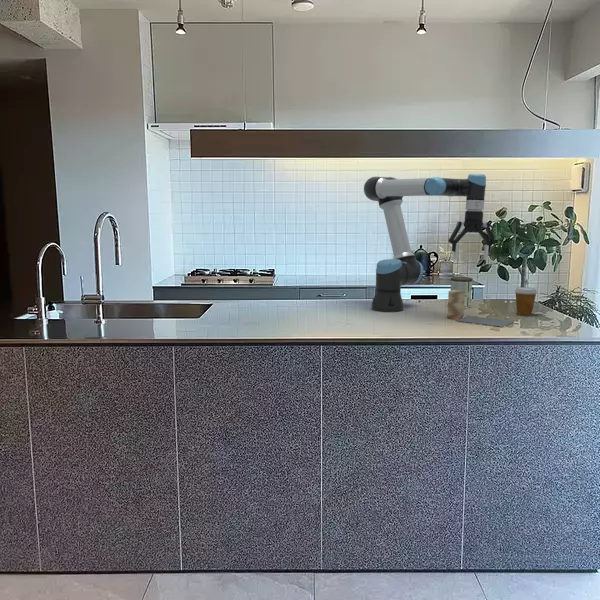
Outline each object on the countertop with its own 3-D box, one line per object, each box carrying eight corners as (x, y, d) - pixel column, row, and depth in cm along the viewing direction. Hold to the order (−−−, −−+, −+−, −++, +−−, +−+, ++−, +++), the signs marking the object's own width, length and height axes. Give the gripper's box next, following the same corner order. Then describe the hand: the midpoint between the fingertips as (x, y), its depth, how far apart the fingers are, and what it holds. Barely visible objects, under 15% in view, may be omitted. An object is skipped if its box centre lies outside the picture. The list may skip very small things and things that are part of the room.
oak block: (447, 318, 245) (448, 291, 243) (452, 316, 250) (453, 289, 248) (458, 319, 242) (459, 292, 240) (463, 317, 247) (464, 290, 245)
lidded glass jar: (447, 304, 282) (449, 276, 280) (468, 305, 281) (470, 277, 279) (451, 308, 272) (452, 279, 270) (473, 308, 271) (474, 279, 269)
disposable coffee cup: (535, 313, 259) (537, 287, 257) (534, 317, 250) (536, 290, 248) (513, 311, 263) (515, 286, 261) (512, 315, 254) (514, 289, 252)
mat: (455, 321, 239) (455, 320, 239) (467, 316, 250) (467, 315, 250) (503, 327, 227) (503, 326, 227) (513, 322, 238) (514, 321, 238)
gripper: (448, 210, 238) (445, 259, 242) (506, 211, 240) (501, 261, 244) (443, 209, 245) (439, 258, 249) (499, 211, 247) (494, 259, 251)
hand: (470, 259), depth 246 cm, fingers open, 13 cm apart
